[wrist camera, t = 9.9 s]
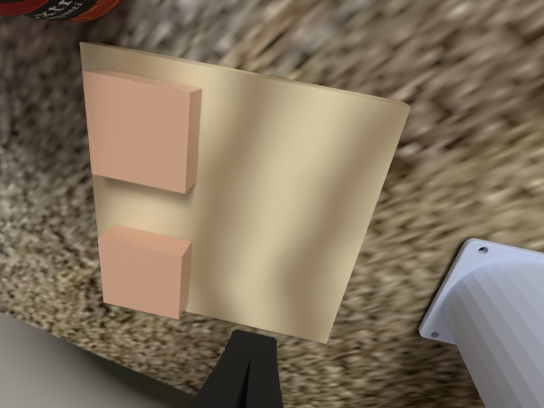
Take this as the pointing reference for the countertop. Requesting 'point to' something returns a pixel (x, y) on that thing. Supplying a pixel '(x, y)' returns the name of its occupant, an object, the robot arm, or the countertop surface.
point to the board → (262, 190)
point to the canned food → (58, 9)
